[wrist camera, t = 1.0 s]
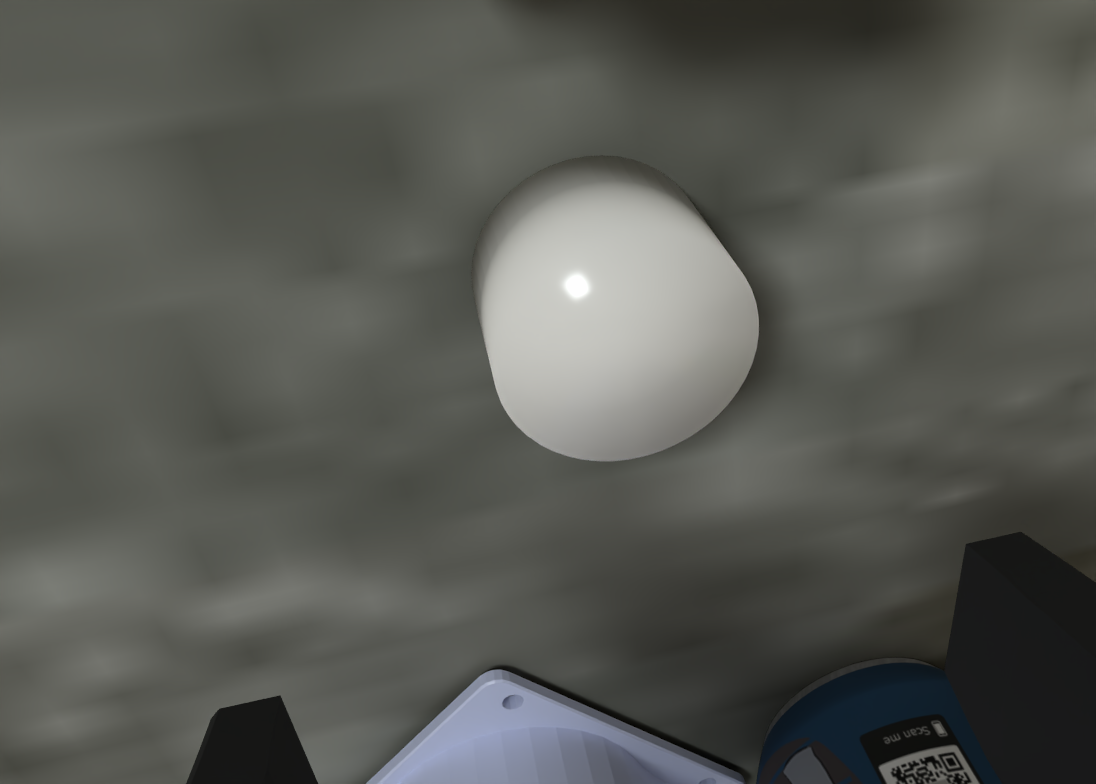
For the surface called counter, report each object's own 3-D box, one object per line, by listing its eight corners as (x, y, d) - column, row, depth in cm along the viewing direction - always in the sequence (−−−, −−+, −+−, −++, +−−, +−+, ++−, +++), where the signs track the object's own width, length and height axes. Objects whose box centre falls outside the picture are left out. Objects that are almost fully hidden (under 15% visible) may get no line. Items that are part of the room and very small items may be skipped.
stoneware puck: (750, 244, 19) (812, 325, 17) (595, 403, 20) (631, 498, 18) (582, 103, 17) (624, 171, 14) (421, 292, 18) (435, 382, 16)
